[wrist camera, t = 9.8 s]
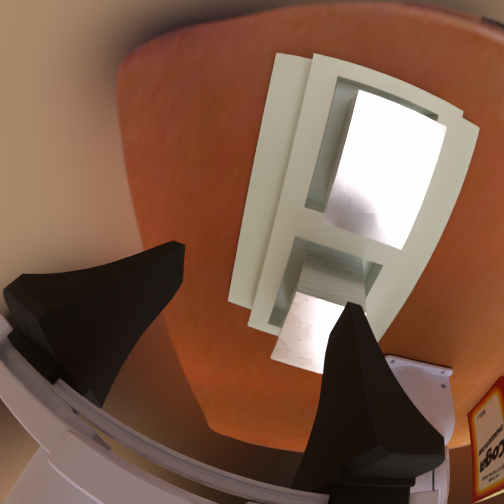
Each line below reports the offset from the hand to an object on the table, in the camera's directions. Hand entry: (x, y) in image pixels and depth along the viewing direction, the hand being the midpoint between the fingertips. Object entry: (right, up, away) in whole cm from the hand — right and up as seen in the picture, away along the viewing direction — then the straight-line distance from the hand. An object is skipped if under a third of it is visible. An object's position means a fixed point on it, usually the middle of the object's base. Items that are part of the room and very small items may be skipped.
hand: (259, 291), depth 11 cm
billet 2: (+7, +8, +4) cm, 11 cm away
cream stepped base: (+6, +4, +7) cm, 10 cm away
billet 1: (+5, -1, +9) cm, 10 cm away
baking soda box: (+35, -19, +10) cm, 40 cm away
